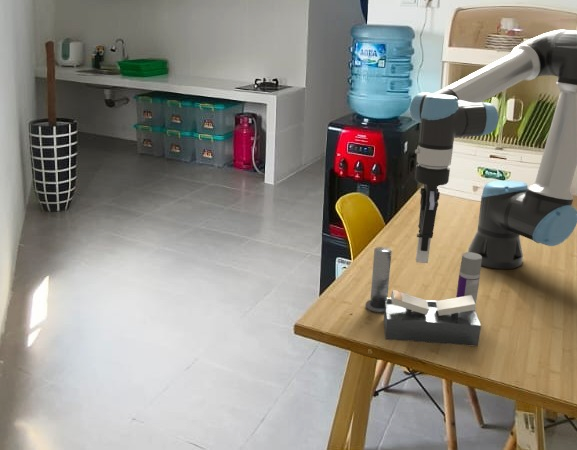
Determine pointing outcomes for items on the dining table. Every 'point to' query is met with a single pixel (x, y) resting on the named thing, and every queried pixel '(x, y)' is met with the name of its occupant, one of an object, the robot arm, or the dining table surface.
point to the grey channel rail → (431, 325)
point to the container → (469, 275)
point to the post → (379, 280)
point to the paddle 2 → (455, 305)
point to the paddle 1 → (409, 302)
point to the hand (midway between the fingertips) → (421, 261)
